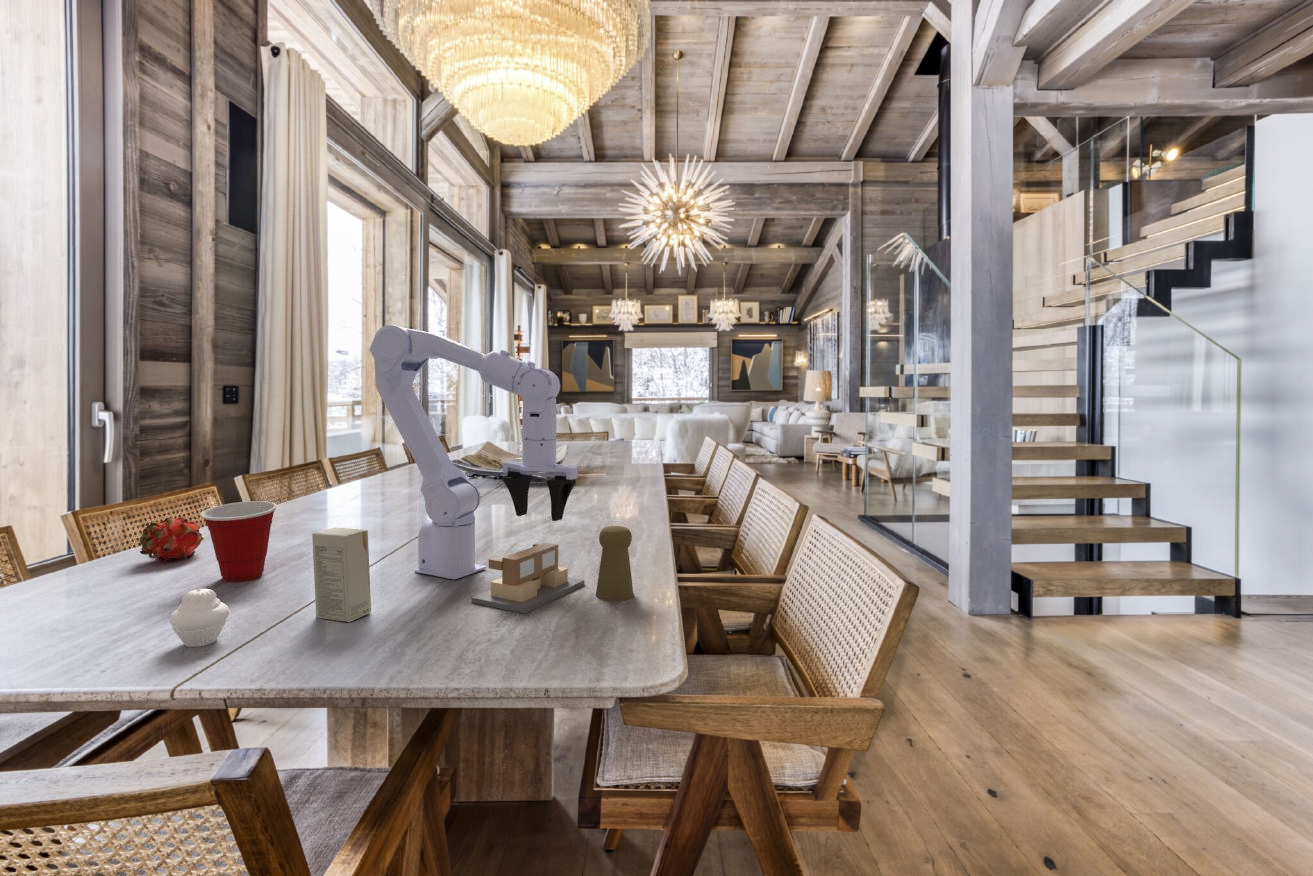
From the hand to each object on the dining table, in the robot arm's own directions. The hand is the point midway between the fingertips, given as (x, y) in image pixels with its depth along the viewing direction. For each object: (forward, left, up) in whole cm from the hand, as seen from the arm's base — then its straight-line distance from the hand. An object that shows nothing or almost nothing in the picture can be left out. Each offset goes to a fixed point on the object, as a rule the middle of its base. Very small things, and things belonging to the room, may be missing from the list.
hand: (539, 517), depth 112 cm
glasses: (+4, -8, -7) cm, 12 cm away
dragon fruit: (-65, -24, -11) cm, 70 cm away
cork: (+16, -2, -11) cm, 20 cm away
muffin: (-20, -44, -11) cm, 49 cm away
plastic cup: (-43, -25, -11) cm, 51 cm away
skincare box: (-13, -29, -11) cm, 33 cm away
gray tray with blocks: (+4, -8, -10) cm, 14 cm away
